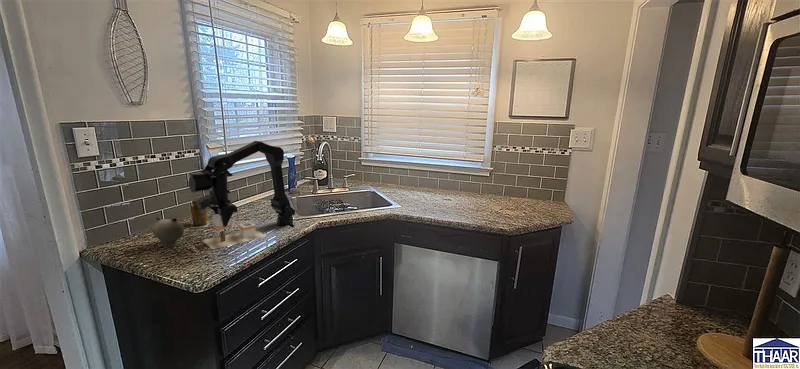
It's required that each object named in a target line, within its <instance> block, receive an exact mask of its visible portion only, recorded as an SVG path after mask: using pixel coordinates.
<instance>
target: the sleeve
mask: <svg viewBox="0 0 800 369" xmlns="http://www.w3.org/2000/svg"><path fill="white" fill-rule="evenodd" d="M231 222H232V220H231V219H230V220H229V222H228V224H227V226H226V227H224V226H223V223H222V219H221V215H220V214H216V215H215V214H213V215H212V227H213V228H214V229H215V230H216V231H219V230H223V229H224V230H225V229H229V228H233V224H232V223H231Z"/></svg>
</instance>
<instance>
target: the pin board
mask: <svg viewBox="0 0 800 369" xmlns="http://www.w3.org/2000/svg"><path fill="white" fill-rule="evenodd" d="M255 231H256V236H253V237H248V238H243V237H241V236H240V235H239V232H235V233H229V234H226V231H223V230H221V231H220V232H219V236H216V237H210V238H206V239H202V240H201V241H202V242H203V243H205V245H207V246H208V247H209V248H210V249H212V250H215V249H221V248H224V247H228V246H232V245H235V244H241V243H245V242H249V241H254V240H258V239H262V238H266V237H267V235H266V234H264V233H262V232H261V231H260V230H258V229H257V228H255Z"/></svg>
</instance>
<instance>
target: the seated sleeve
mask: <svg viewBox="0 0 800 369" xmlns="http://www.w3.org/2000/svg"><path fill="white" fill-rule="evenodd" d="M237 228H238V231H239V235H240V236H241V237H243V238H248V237H253V236H256V231H255V229H257V225H256V224H255V223H253V222H251V221H249V222H244V223H238V224H237Z"/></svg>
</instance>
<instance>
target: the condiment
mask: <svg viewBox="0 0 800 369" xmlns="http://www.w3.org/2000/svg"><path fill="white" fill-rule="evenodd" d="M197 199H198V198H197ZM197 199H193V200H192V202H191V203H192V205H191V215H192V216H191V217H192V222H191V223H190V229H196V228H197V229H199V228H206V227H207V228H208V227H209V226H210V224H209V223H210V221H209V220H208V211H207V208H208V207H207V208H206V209H203V210H202V209H201V208H199V206H198V205H197V203H196V200H197Z"/></svg>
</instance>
